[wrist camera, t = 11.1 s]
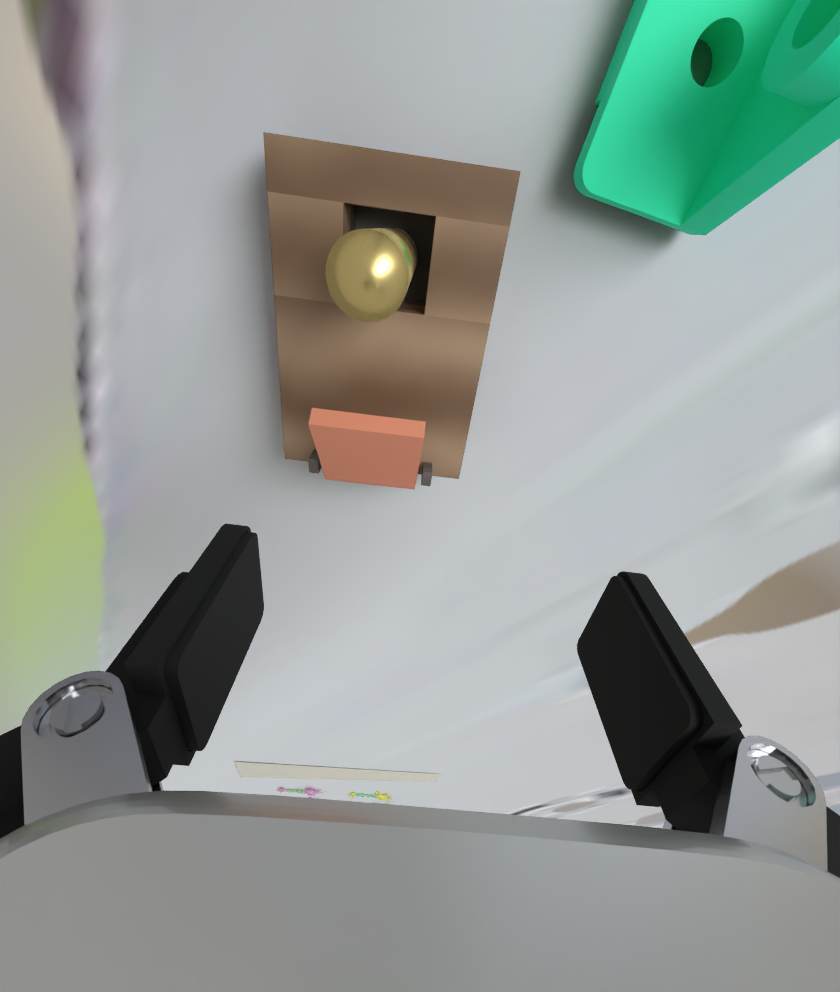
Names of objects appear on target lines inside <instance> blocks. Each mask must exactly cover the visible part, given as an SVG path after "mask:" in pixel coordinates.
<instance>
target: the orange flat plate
mask: <svg viewBox="0 0 840 992" xmlns="http://www.w3.org/2000/svg"><path fill="white" fill-rule="evenodd" d="M308 425H309V428H310V431H311V434H312V437H313V441H314V444H315V447H316V450H317V453H318V457H319V460H320V463H321V466H322V469H323V472H324V476H325V479H329V480H337V481H346V482H355V483H363V484H372V485H381V486H389V487H398V488H407V489H415V484H416V479H417V473H418V468H419V463H420V458H421V452H422V447H423V442H424V435H425V425H426V422H424V421H416V420H408V419H400V418H392V417H383V416H375V415H367V414H359V413H351V412H343V411H335V410H326V409H318V408H312V410H311V414H310V419H309V423H308Z"/></svg>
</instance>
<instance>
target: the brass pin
mask: <svg viewBox="0 0 840 992" xmlns="http://www.w3.org/2000/svg"><path fill="white" fill-rule="evenodd" d="M417 260H418V255H417V249H416V246H415V243H414V241H413V240H412V238H411V237H410V236H409V235H408V234H407V233H406V232H405V231H403V230H401V229H398V228H369V229H357V230H353V231H350V232H348V233H346V234H345V235H343V236H342V237H341V238H339V239H338V240H337V241H336V243H335V244H334V245H333V247H332V248H331V250H330V252H329V255H328V258H327V262H326V270H325V274H326V283H327V287H328V290H329V292H330V295H331V297H332V299H333V300H334V302H335V303H336V305H337V306H338V307H339V308H340V309H341V310H342V311H343V312H344V313H345V314H347V315H348V316H350V317H352V318H354V319H356V320H359V321H363V322H377V321H381V320H383V319H386V318H388V317H389V316H391V315H392V314H393V313H394V312H395V311H396V310H397V309H398V308H399V307H400V305H401V304H402V302H403V300H404V298H405V296H406V293H407V290H408V287H409V285H410V282H411V279H412V277H413V274H414V271H415V269H416V265H417Z"/></svg>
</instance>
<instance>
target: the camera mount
mask: <svg viewBox="0 0 840 992" xmlns="http://www.w3.org/2000/svg"><path fill="white" fill-rule="evenodd" d="M698 39H701V40H703V41H705V42H706V43H707V44H708V45H709V47H710V49H711V52H712V67H711V71H710V74H709V77H708V79H707V81H706V83H705V84H704V86H703V87H702V86H700V85H698V84H697V83H696V82H695V80H694V79H693V77H692V73H691V56H692V52H693V49H694V46H695V44H696V42H697V40H698ZM595 104H596V105H598V108H597V111H596V114H595V116H594V119H593V121H592V124H591V127H590V129H589V132H588V134H587V137H586V140H585V142H584V145H583V147H582V150H581V153H580V155H579V158H578V160H577V163H576V166H575V169H574V183H575V186H576V188H577V190H578V191H579V192H580V193H581V194H582V195H584V196H587V197H589V198H592V199H595V200H598V201H600V202H603V203H606V204H609V205H611V206H614V207H617V208H619V209H622V210H625V211H628V212H630V213H633V214H636V215H639V216H641V217H644V218H647V219H649V220H652V221H655V222H658V223H660V224H663V225H666V226H669V227H671V228H674V229H677V230H679V231H682V232H685V233H688V234H690V235H706V234H708V233H709V232H710V231H712V230H713V229H715V228H716V227H717V226H719V225H720V224H722V223H723V222H724V221H726V220H727V219H728V218H730V217H731V216H733V215H734V214H735V213H737V212H738V211H739V210H741V209H742V208H744V207H745V206H746V205H748V204H749V203H751V202H752V201H753V200H755V199H756V198H757V197H759V196H760V195H762V194H763V193H764V192H766V191H767V190H768V189H770V188H771V187H773V186H774V185H775V184H777V183H778V182H779V181H781V180H782V179H784V178H785V177H786V176H788V175H789V174H791V173H792V172H793V171H795V170H796V169H797V168H799V167H800V166H802V165H803V164H804V163H806V162H807V161H808V160H810V159H811V158H813V157H814V156H815V155H817V154H818V153H820V152H821V151H822V150H824V149H825V148H826V147H828V146H829V145H831V144H832V143H833V142H835V141H836V140H837V139H839V138H840V0H634V2H633V5H632V7H631V10H630V13H629V15H628V18H627V20H626V23H625V26H624V28H623V31H622V34H621V36H620V39H619V42H618V44H617V47H616V49H615V52H614V55H613V57H612V60H611V63H610V65H609V68H608V70H607V73H606V76H605V78H604V81H603V84H602V86H601V89H600V92H599V94H598V97H597V99H596V102H595Z"/></svg>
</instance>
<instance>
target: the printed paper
mask: <svg viewBox="0 0 840 992" xmlns="http://www.w3.org/2000/svg"><path fill="white" fill-rule="evenodd" d="M235 765H236V768H237V770H238V773H239V775H240V777H266V778H304V779H341V780H378V781H415V782H437V778H438V774H430V773H413V772H397V771H380V770H364V769H347V768H331V767H314V766H298V765H281V764H264V763H248V762H235ZM278 791H280V792H283V791H287V792H297V793H303V794H305V793H307V794H308V795H310V796H311V795H314V793H322V792H318V791H320V790H318V791H314V789H311V788H310V789H308V790H302V791H301V792H300V790H292V791H291V790H284V789H282V788H281V789H279V790H278ZM305 791H306V792H305ZM376 792H377V791H376ZM352 793H353V794H352ZM352 793H350V794H351V795H349V796H352V795H353V797H354V796H355V795H356V796H360V795H361V797H364V795H366V794H355V793H354V792H352ZM378 793H379V792H378ZM280 794H281V793H280ZM348 794H349V793H348ZM366 796H367V797H370V796H371V797H374V798H375V797H376V798H378V799H379V800H383V799H384V798H385V799H387V800H388V799H392V798H387V797H386V796H389V795H386V794H380V793H379V795H376V793H375V795H369V794H367V795H366ZM314 797H315V796H314ZM353 797H352V798H353ZM309 798H311V797H309ZM352 798H351V799H352ZM388 801H389V800H388ZM392 802H393V801H392Z"/></svg>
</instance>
